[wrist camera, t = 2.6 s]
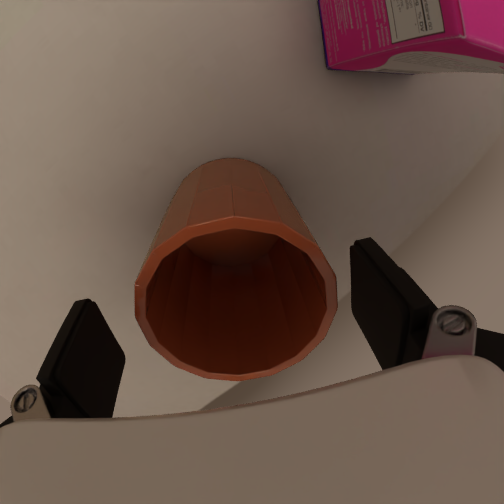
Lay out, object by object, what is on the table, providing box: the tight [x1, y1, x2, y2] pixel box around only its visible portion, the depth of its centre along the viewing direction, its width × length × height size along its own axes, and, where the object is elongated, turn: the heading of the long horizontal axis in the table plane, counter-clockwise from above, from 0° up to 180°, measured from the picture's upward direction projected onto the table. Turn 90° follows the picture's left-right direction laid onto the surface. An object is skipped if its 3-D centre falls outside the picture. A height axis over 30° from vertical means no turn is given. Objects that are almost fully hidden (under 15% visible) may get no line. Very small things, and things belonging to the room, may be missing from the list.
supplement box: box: [318, 0, 504, 75], centre depth 8 cm, size 6×6×12 cm
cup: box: [135, 158, 338, 381], centre depth 14 cm, size 7×7×9 cm
